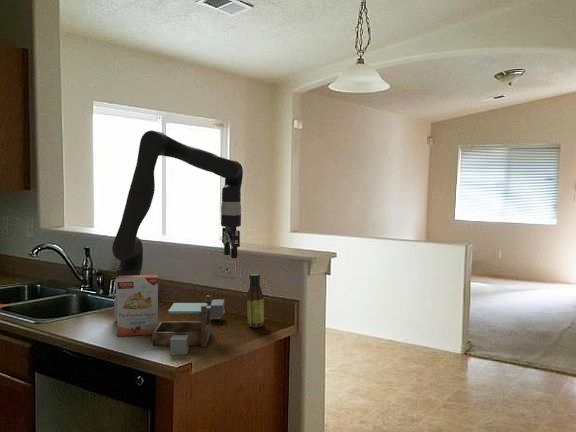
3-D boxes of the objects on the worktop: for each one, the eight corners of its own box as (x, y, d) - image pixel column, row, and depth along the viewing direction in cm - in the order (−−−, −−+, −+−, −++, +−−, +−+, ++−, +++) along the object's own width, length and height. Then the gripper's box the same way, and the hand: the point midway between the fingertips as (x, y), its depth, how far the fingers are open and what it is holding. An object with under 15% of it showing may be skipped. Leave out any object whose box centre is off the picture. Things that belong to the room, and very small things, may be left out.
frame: (151, 347, 173) (151, 306, 172) (161, 332, 190) (161, 295, 190) (206, 347, 174) (206, 306, 173) (211, 332, 191) (211, 295, 191)
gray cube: (170, 355, 166) (170, 339, 165) (172, 350, 171) (172, 335, 170) (186, 355, 166) (186, 339, 166) (188, 350, 171) (188, 335, 171)
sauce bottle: (266, 325, 202) (267, 273, 201) (259, 329, 196) (259, 276, 195) (251, 323, 205) (252, 272, 203) (243, 326, 199) (244, 275, 198)
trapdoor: (168, 318, 175) (168, 306, 175) (174, 309, 187) (174, 298, 187) (222, 318, 176) (222, 306, 176) (224, 309, 188) (224, 298, 188)
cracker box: (117, 337, 183) (116, 278, 182) (117, 332, 189) (117, 275, 188) (158, 334, 187) (158, 276, 186) (157, 330, 193) (157, 273, 192)
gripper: (215, 212, 202) (215, 254, 203) (227, 215, 189) (226, 259, 190) (234, 212, 205) (233, 253, 206) (246, 214, 192) (246, 258, 193)
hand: (230, 256), depth 198 cm, fingers open, 8 cm apart
